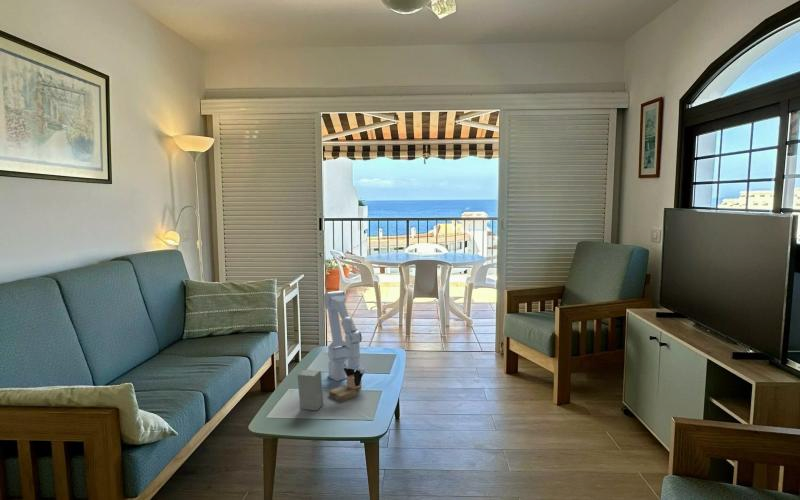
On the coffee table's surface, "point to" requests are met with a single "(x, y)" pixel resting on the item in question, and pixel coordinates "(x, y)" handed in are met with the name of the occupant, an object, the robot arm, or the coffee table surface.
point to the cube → (352, 382)
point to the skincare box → (310, 389)
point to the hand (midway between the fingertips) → (354, 383)
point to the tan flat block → (342, 393)
